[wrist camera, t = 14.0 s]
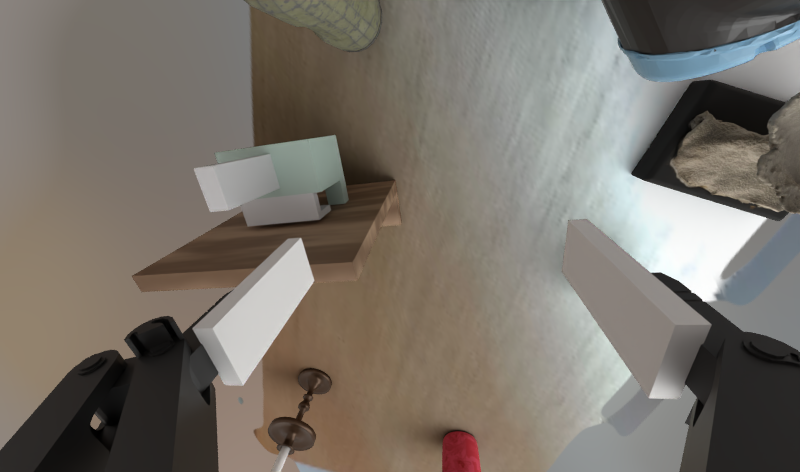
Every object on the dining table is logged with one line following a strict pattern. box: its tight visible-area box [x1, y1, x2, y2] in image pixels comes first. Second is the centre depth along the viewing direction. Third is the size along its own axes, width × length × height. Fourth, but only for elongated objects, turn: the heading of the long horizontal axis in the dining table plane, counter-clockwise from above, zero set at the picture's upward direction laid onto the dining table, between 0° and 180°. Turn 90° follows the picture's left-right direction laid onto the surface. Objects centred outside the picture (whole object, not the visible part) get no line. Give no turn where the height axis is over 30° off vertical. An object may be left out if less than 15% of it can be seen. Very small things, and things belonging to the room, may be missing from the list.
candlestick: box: [268, 368, 332, 472], centre depth 62 cm, size 11×11×35 cm
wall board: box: [132, 180, 402, 292], centre depth 41 cm, size 11×24×28 cm, turn 99°
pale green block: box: [194, 135, 349, 226], centre depth 34 cm, size 9×12×18 cm
